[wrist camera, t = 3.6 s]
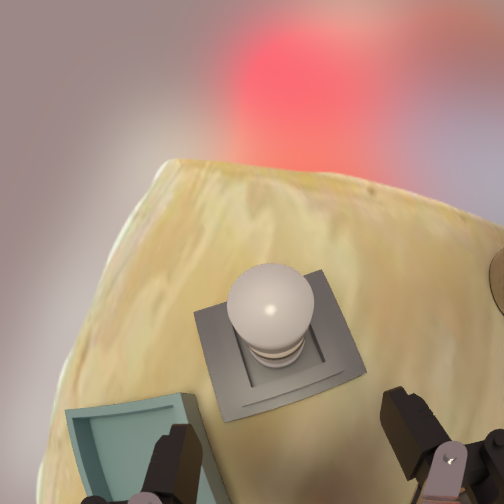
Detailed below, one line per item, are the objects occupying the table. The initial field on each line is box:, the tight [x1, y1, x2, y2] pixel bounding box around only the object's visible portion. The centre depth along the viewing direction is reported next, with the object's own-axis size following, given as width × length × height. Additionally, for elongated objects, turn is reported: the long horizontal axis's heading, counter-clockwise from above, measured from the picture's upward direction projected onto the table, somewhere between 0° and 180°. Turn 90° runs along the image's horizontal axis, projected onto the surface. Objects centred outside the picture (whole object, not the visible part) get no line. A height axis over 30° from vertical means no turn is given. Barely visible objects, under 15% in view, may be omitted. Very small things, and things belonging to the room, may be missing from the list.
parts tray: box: [65, 393, 231, 504], centre depth 16 cm, size 12×12×4 cm
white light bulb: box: [227, 263, 314, 369], centre depth 18 cm, size 4×4×10 cm
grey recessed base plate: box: [194, 269, 367, 423], centre depth 22 cm, size 12×10×2 cm
